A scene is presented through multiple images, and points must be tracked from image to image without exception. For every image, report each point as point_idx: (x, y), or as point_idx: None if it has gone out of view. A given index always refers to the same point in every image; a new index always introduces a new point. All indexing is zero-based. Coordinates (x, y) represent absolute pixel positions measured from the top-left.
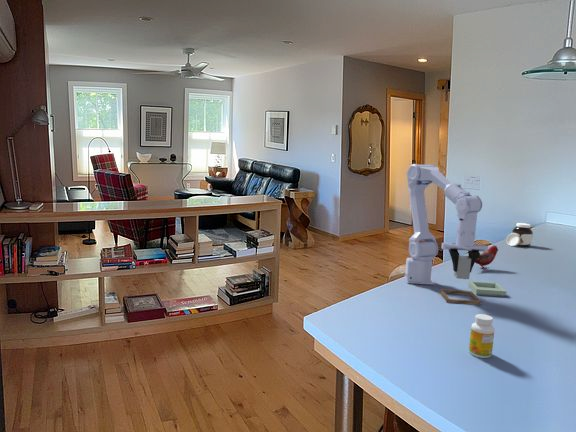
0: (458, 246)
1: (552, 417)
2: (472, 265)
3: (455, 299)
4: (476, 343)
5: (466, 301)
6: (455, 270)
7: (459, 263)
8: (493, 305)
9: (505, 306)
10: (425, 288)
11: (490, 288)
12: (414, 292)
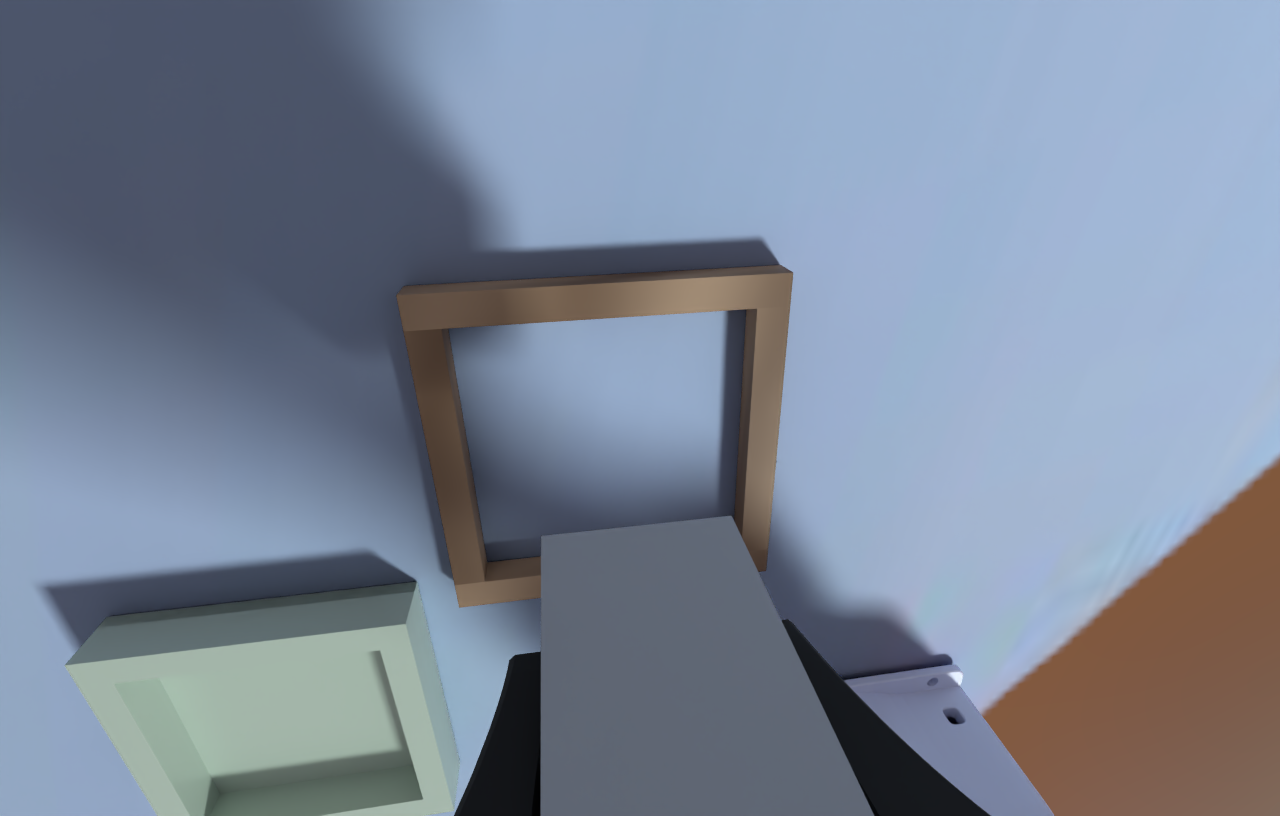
0: None
1: None
2: (489, 780)
3: (693, 294)
4: None
5: (570, 283)
6: (792, 631)
7: (815, 743)
8: (250, 302)
9: (97, 304)
10: (850, 599)
11: (258, 756)
12: (988, 471)
